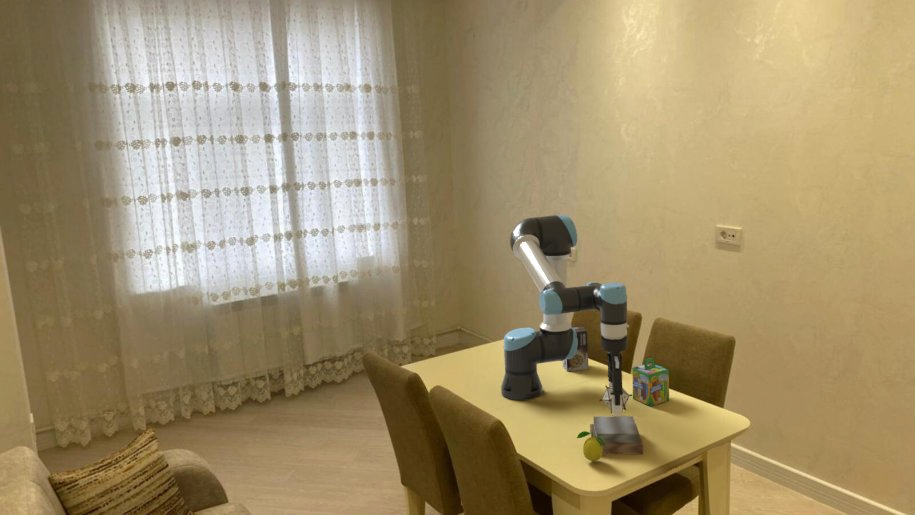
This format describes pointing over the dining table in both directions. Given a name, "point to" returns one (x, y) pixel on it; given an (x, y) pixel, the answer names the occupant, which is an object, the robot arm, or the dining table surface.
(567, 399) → the dining table surface
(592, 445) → the lemon
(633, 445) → the tower base
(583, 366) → the coffee box
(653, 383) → the chalk box
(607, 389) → the game die
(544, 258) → the robot arm
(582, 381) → the dining table surface
